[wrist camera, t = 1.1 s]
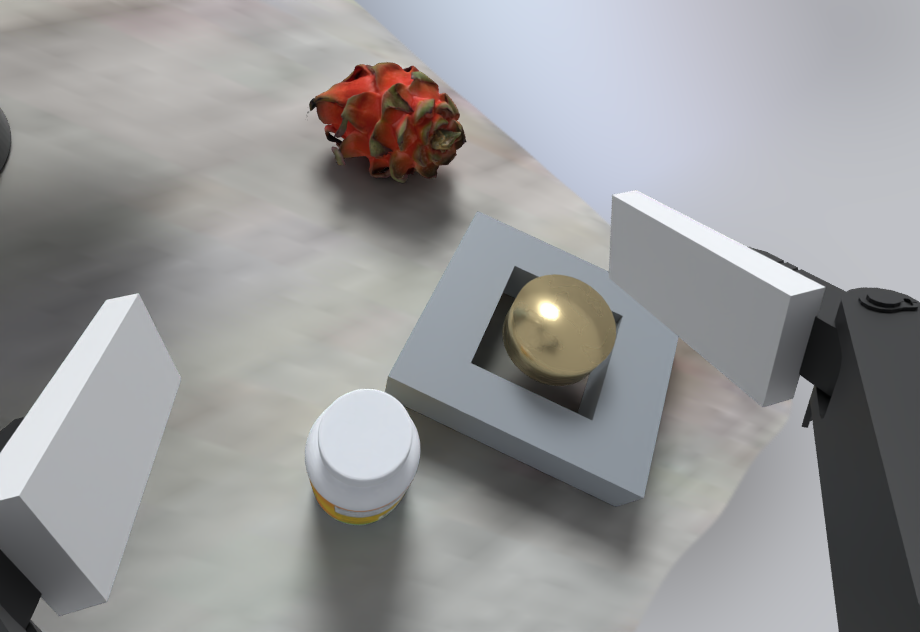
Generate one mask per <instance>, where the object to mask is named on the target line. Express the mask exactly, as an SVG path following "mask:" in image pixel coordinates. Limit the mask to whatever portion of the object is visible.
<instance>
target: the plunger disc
mask: <svg viewBox="0 0 920 632" xmlns="http://www.w3.org/2000/svg"><path fill="white" fill-rule="evenodd" d="M502 335H503V342H504V346H505V348H506V351H507V353H508V355H509V357H510V358H511V360H512V361H513V363H514V364H515V365H516V366H517V367H518V368H519V369H520V370H521V371H522V372H523V373H524V374H526V375H527V376H529V377H530V378H532V379H534V380H536V381H538V382H541V383H544V384H547V385H554V386H564V385H570V384H574V383H576V382H578V381H580V380H582V379H583V378H585V377H586V376H587V375H588V374H589V373H590V372H592V371H593V370H594V369H595V368H596V367H597V366H598V365H599V364H600V363H601V362H603V361H604V360H605V359H606V358H607V357H608V355H609V354H610V352H611V351H612V349H613V346H614V344H615V340H616V324H615V319H614V316H613V314H612V311H611V309H610V307H609V306H608V304H607V303H606V301H605V300H604V299H603V297H602V296H601V295H600V294H599V293H598V292H597V291H596V290H594V289H593V288H592V287H591V286H589V285H588V284H586V283H584V282H582V281H581V280H578V279H576V278H573V277H570V276H565V275H556V274H553V275H545V276H541V277H538V278H535V279H533V280H531V281H530V282H529V283H527V284H526V285H525V286H524V287H523V288H522V289H521V291H520V292H519V294H518V295H517V297H516V299H515V301H514V302H513V304H512V306H511V308H510V309H509V311H508V313H507V315H506V317H505V320H504V323H503V330H502Z"/></svg>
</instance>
